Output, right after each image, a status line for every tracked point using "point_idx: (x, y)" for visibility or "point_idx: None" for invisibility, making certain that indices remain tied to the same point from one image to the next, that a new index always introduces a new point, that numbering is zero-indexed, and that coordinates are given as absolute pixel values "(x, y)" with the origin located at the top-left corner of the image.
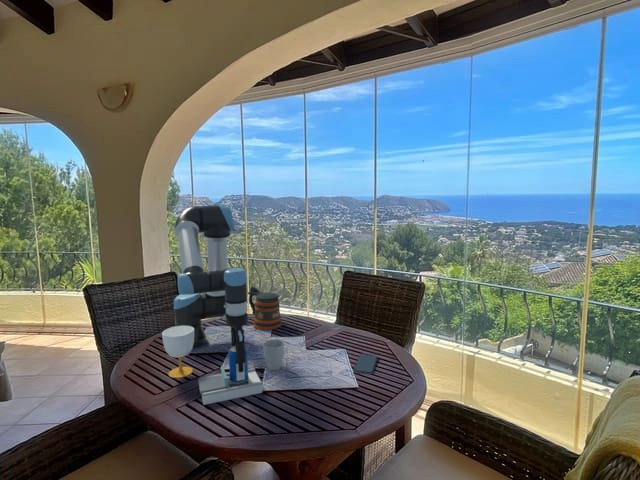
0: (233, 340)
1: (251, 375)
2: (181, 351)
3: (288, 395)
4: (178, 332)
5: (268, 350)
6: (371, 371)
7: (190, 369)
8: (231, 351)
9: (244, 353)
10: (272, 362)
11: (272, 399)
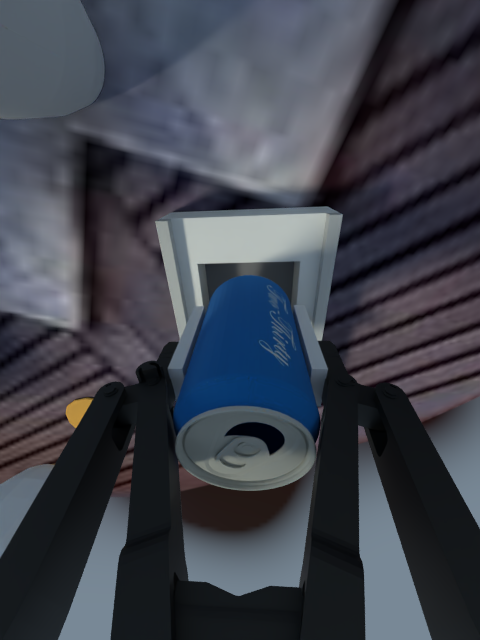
0: (182, 537)
1: (220, 248)
2: None
3: (441, 52)
4: None
5: (10, 70)
6: None
7: (85, 403)
8: (271, 480)
9: (438, 462)
10: (85, 64)
11: (413, 170)
